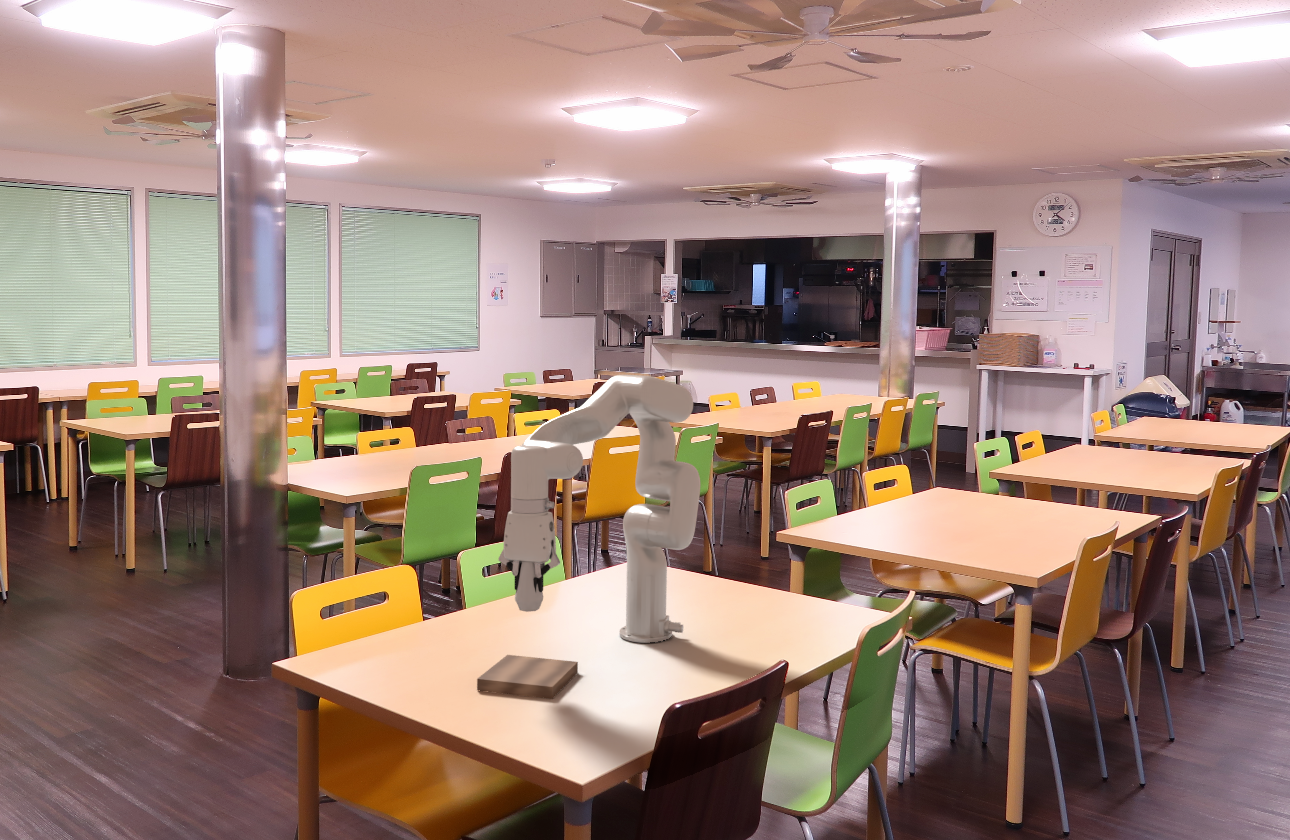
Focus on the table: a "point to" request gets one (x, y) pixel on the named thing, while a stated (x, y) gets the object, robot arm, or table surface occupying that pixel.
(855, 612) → the table surface
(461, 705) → the table surface
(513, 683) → the walnut base
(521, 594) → the salt shaker
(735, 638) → the table surface
